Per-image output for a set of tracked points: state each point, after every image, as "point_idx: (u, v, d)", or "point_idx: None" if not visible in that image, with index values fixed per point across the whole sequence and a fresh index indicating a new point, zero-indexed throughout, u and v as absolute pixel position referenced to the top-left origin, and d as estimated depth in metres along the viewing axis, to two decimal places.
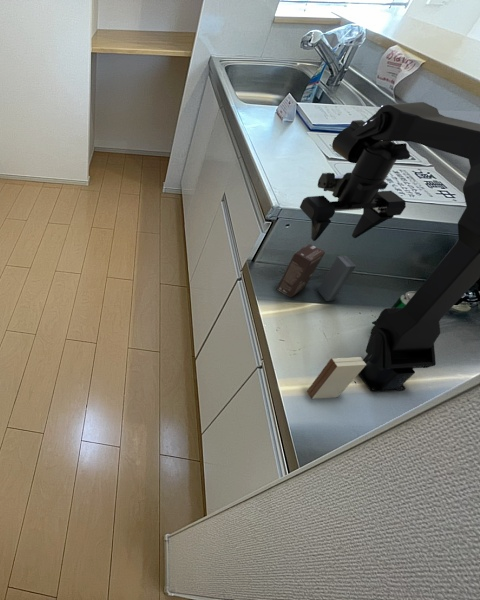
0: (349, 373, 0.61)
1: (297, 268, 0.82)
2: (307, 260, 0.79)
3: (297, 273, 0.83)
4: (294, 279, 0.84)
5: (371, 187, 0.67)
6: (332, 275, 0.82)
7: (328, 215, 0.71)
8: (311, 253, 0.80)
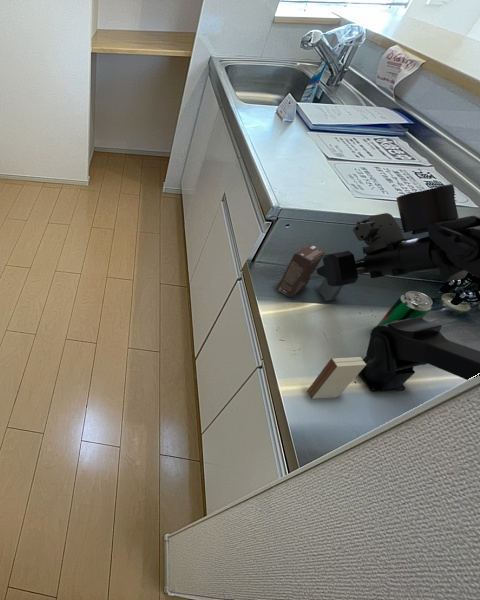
0: (349, 373, 0.61)
1: (297, 268, 0.82)
2: (307, 260, 0.79)
3: (297, 273, 0.83)
4: (294, 279, 0.84)
5: (405, 273, 0.60)
6: None
7: None
8: (311, 253, 0.80)
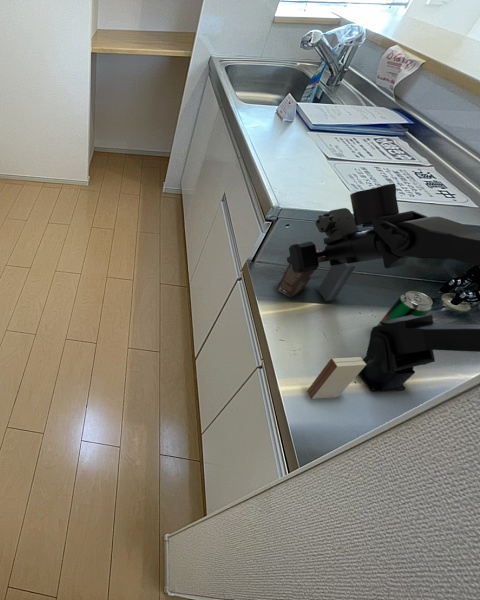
0: (349, 373, 0.61)
1: None
2: None
3: (297, 273, 0.83)
4: (294, 279, 0.84)
5: (357, 261, 0.68)
6: (332, 275, 0.82)
7: (309, 270, 0.73)
8: None
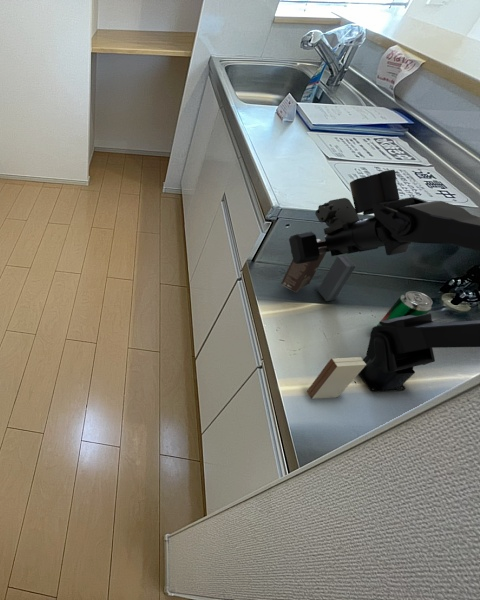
0: (349, 373, 0.61)
1: None
2: None
3: (302, 267, 0.81)
4: (299, 273, 0.82)
5: (359, 250, 0.68)
6: (332, 275, 0.82)
7: (310, 261, 0.73)
8: None
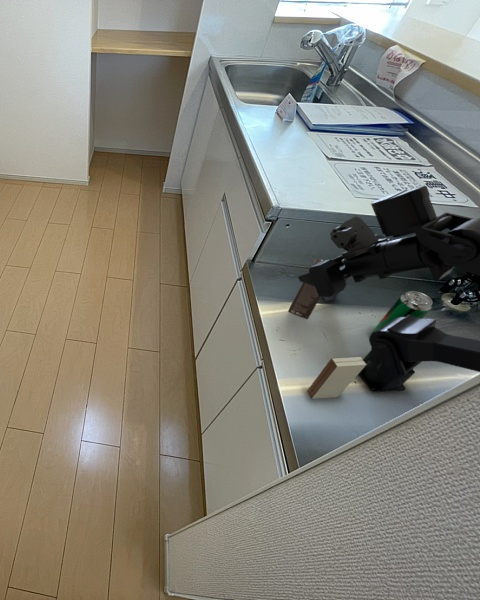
0: (349, 373, 0.61)
1: (313, 288, 0.72)
2: None
3: (314, 293, 0.72)
4: (310, 300, 0.73)
5: None
6: None
7: None
8: None
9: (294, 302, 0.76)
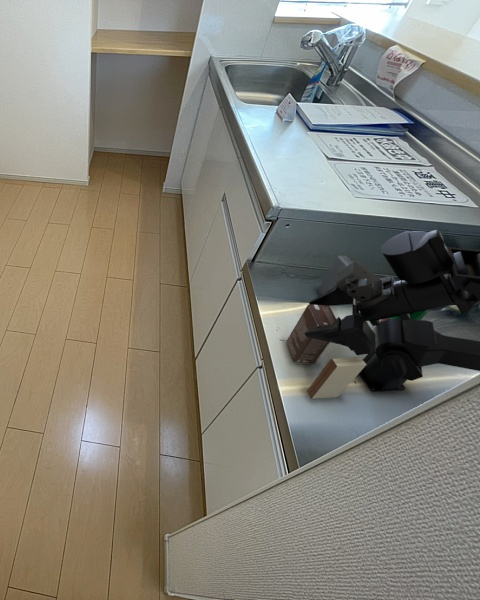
0: (349, 373, 0.61)
1: None
2: None
3: (322, 342, 0.68)
4: (318, 348, 0.69)
5: None
6: (332, 275, 0.82)
7: None
8: (327, 316, 0.67)
9: (301, 353, 0.71)
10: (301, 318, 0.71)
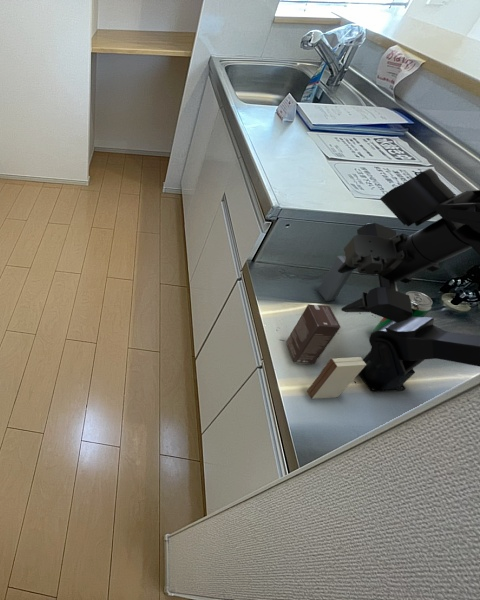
0: (349, 373, 0.61)
1: (322, 338, 0.67)
2: (335, 328, 0.65)
3: (322, 342, 0.68)
4: (318, 348, 0.69)
5: None
6: (332, 275, 0.82)
7: None
8: (327, 316, 0.67)
9: (301, 353, 0.71)
10: (301, 318, 0.71)
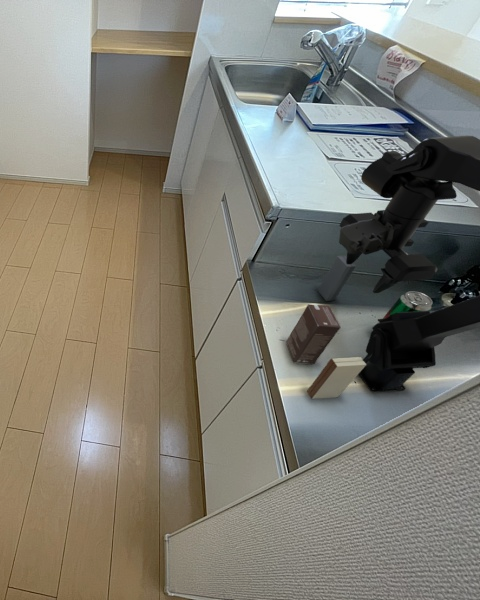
0: (349, 373, 0.61)
1: (322, 338, 0.67)
2: (335, 328, 0.65)
3: (322, 342, 0.68)
4: (318, 348, 0.69)
5: None
6: (332, 275, 0.82)
7: None
8: (327, 316, 0.67)
9: (301, 353, 0.71)
10: (301, 318, 0.71)
